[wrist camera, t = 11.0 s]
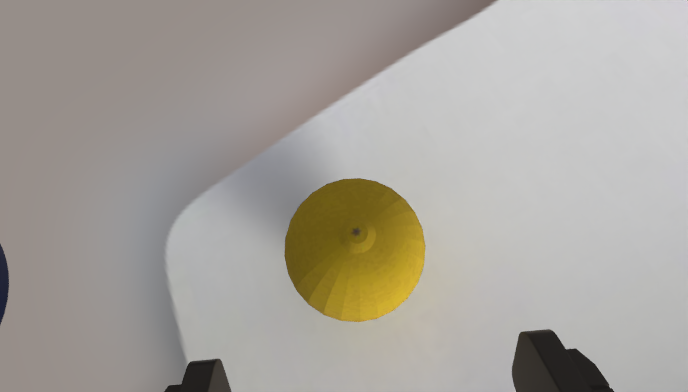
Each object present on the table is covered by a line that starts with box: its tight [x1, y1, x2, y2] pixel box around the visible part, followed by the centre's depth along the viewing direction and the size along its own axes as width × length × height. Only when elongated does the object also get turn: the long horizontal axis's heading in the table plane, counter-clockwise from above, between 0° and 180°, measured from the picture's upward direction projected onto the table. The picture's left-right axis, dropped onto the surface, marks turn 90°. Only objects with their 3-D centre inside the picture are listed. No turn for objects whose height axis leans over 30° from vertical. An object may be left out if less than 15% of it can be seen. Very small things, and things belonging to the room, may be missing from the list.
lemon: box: [285, 178, 425, 322], centre depth 17 cm, size 6×6×8 cm
